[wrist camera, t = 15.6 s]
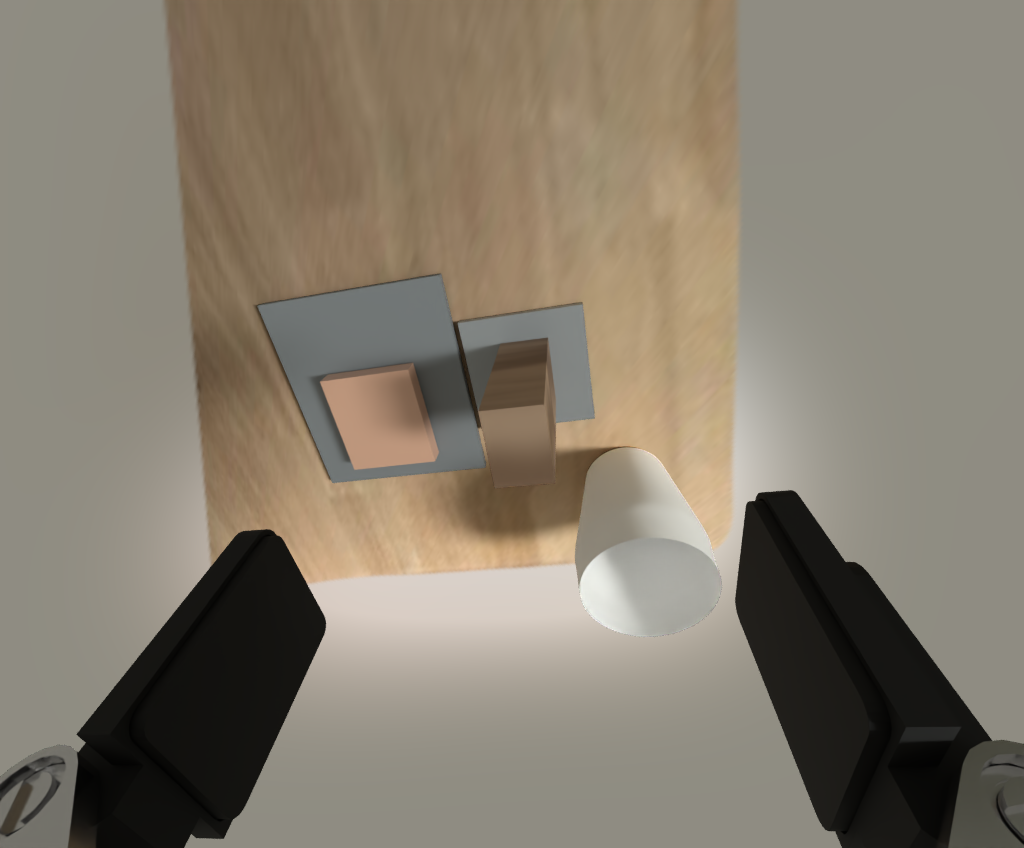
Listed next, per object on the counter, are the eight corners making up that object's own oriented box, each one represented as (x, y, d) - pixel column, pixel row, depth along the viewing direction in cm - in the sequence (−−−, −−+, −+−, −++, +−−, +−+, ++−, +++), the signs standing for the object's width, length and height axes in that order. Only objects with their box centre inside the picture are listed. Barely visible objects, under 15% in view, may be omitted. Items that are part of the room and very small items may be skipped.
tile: (319, 381, 36) (354, 469, 39) (408, 369, 34) (435, 461, 38) (329, 373, 37) (361, 459, 41) (413, 361, 36) (439, 450, 40)
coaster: (459, 320, 35) (457, 323, 34) (582, 302, 33) (582, 304, 33) (483, 427, 39) (482, 431, 38) (594, 414, 37) (594, 418, 37)
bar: (500, 343, 35) (478, 411, 25) (548, 337, 34) (544, 404, 24) (511, 404, 37) (494, 488, 27) (556, 399, 36) (555, 483, 27)
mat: (261, 303, 35) (257, 305, 35) (440, 273, 33) (439, 275, 33) (335, 479, 43) (332, 483, 42) (486, 463, 40) (485, 467, 40)
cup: (606, 415, 37) (625, 512, 27) (702, 461, 39) (757, 571, 28) (553, 496, 42) (551, 607, 31) (641, 535, 43) (668, 655, 32)
